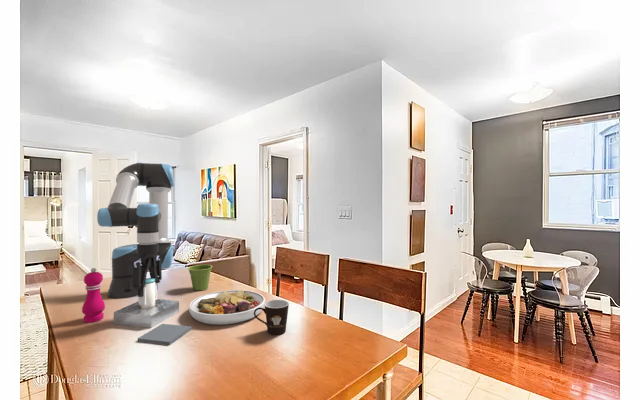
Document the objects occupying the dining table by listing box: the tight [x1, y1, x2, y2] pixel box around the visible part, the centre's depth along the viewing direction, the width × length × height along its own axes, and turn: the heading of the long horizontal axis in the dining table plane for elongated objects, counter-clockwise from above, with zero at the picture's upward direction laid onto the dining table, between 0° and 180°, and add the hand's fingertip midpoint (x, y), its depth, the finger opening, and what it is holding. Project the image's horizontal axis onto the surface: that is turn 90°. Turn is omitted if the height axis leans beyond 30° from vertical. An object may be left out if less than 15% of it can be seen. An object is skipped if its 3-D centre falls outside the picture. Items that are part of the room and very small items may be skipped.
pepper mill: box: [81, 267, 106, 324], centre depth 121 cm, size 7×7×20 cm
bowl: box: [188, 289, 266, 326], centre depth 130 cm, size 30×30×8 cm
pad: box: [137, 323, 193, 346], centre depth 109 cm, size 12×12×1 cm
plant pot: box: [187, 264, 213, 292], centre depth 161 cm, size 12×12×11 cm
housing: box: [113, 298, 180, 329], centre depth 124 cm, size 16×16×4 cm
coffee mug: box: [254, 299, 290, 336], centre depth 113 cm, size 12×9×10 cm
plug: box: [141, 277, 155, 309], centre depth 124 cm, size 5×5×15 cm
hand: (148, 301), depth 124 cm, fingers open, 5 cm apart
